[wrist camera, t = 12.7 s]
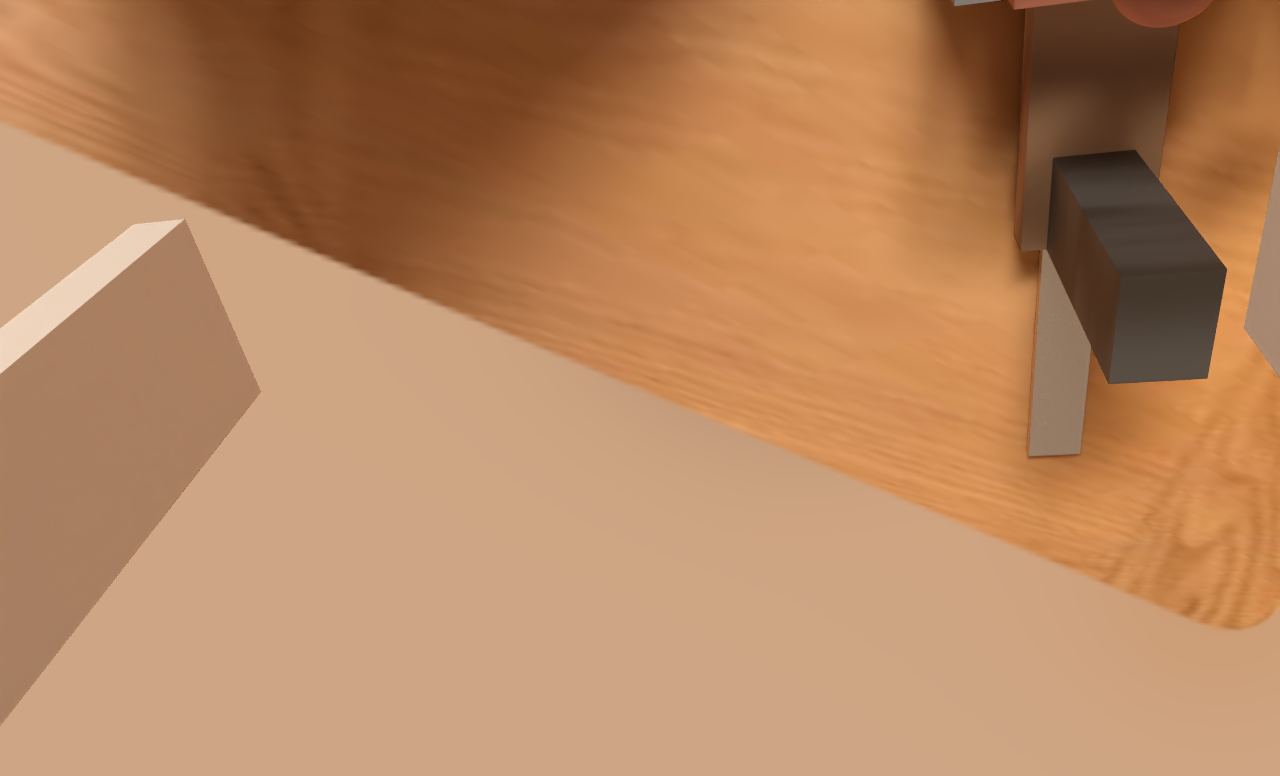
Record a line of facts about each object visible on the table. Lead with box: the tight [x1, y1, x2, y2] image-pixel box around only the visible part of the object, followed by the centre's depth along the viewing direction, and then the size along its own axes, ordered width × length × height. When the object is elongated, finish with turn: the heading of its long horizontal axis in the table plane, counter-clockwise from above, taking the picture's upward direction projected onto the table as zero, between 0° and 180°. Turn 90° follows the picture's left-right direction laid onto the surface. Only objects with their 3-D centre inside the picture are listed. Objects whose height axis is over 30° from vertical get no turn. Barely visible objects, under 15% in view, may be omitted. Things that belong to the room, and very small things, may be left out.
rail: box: [1027, 250, 1091, 456], centre depth 45 cm, size 2×17×1 cm, turn 9°
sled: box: [1007, 0, 1227, 384], centre depth 34 cm, size 14×8×12 cm, turn 9°
